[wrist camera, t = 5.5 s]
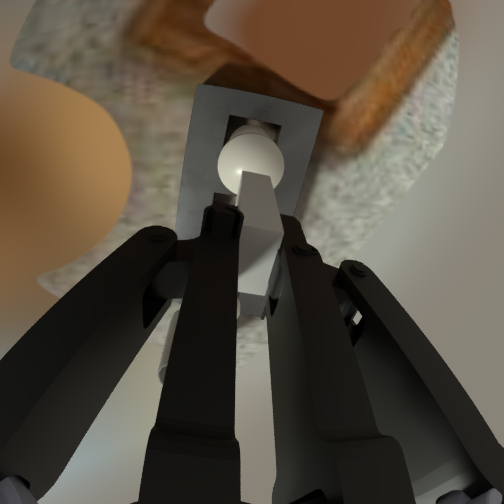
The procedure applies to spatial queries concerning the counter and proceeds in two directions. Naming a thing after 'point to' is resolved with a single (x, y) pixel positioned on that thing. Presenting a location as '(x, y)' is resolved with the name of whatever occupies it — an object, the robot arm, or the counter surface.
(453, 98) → the counter surface
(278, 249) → the robot arm
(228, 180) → the knob
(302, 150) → the panel
